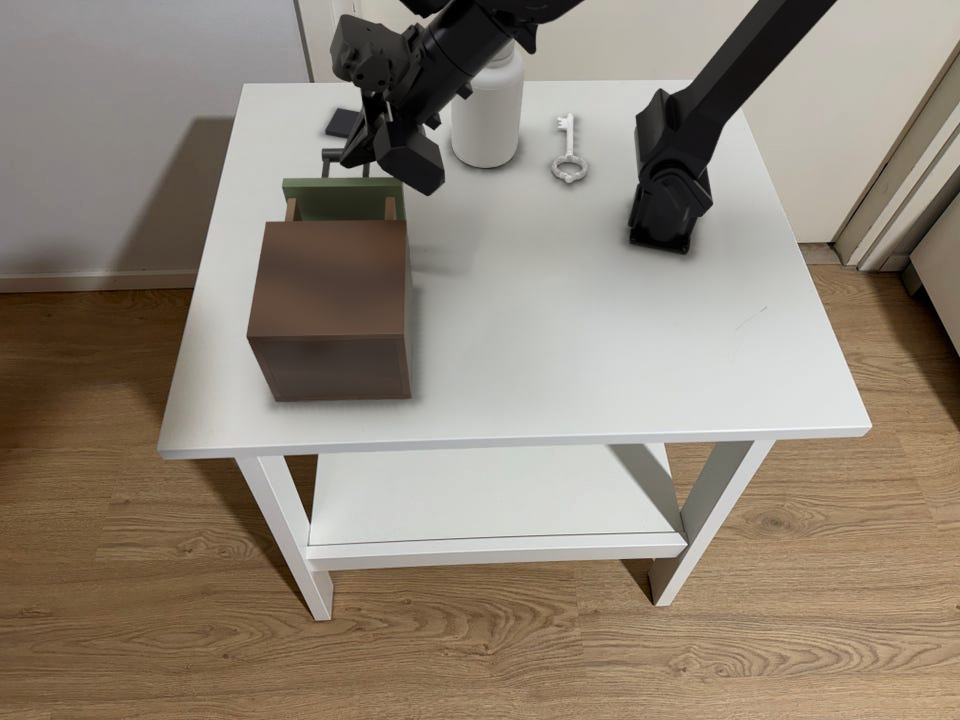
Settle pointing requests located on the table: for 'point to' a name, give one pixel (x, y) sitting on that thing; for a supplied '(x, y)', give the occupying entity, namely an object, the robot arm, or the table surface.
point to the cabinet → (334, 310)
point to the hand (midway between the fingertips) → (343, 164)
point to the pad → (342, 123)
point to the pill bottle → (490, 112)
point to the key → (569, 152)
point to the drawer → (343, 195)
